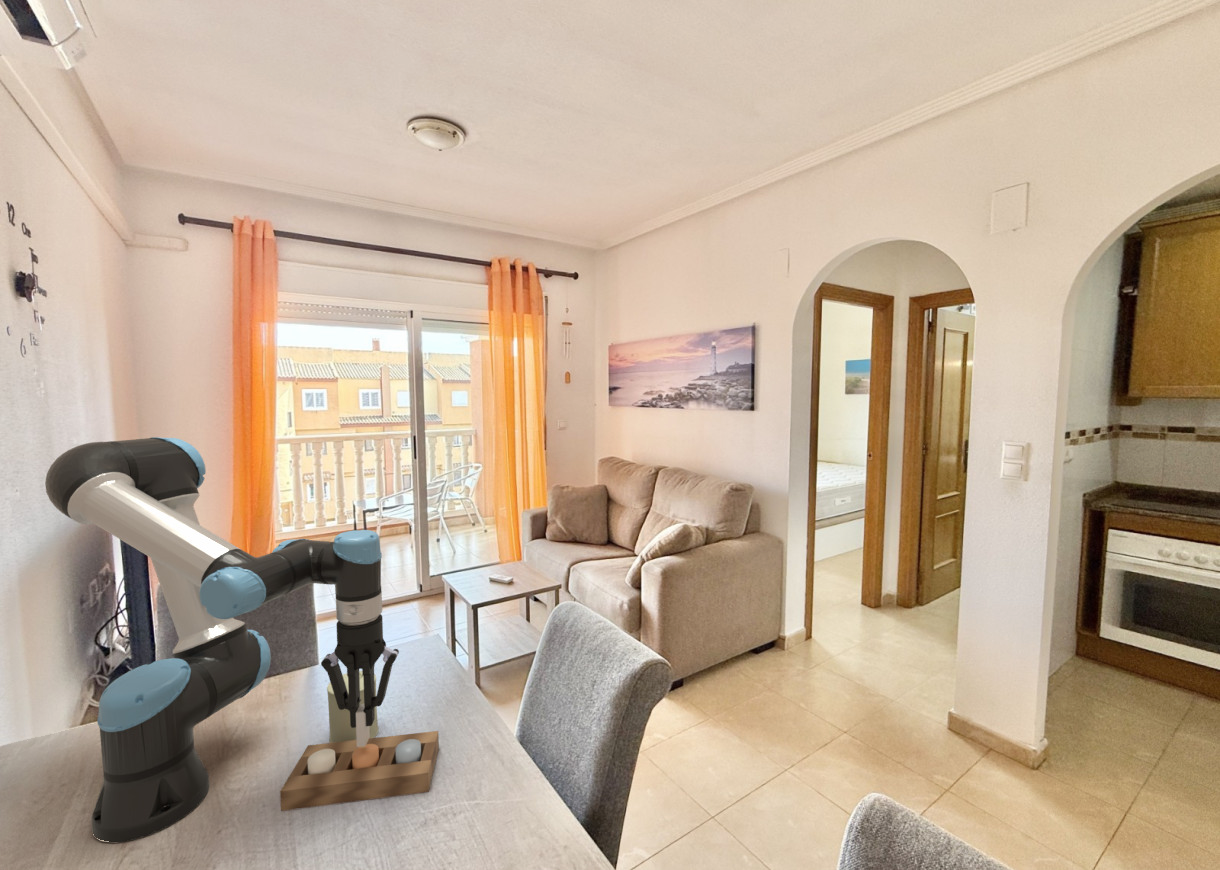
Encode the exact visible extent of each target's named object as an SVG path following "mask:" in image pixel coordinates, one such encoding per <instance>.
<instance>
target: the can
mask: <svg viewBox="0 0 1220 870" xmlns="http://www.w3.org/2000/svg"><path fill="white" fill-rule="evenodd" d="M342 675H343V678H344V682H345V685H346V688H347V692H348V695H349V690H348V676H347V673H345V674H342ZM359 678H360V699H361V701H360V703H359V706H360V704H364V679H363V674H362V670H359ZM374 683H375V696H377V676H376V674H375V673H374ZM326 691H327V701H328V702H327V703H328V722H329V727H328V728H329V739H328V743H334V742H343V741H352V740H357V738H356V727H355V728H352V727H351V725H350V711H349V710H347V709H343V710H340V709H339V708H338V705H337V702H336V698H335V695H334V692H333V689H332V686H331V682H330V681H329V683H328V685H327V687H326ZM377 707H378V706H376V707H374V709H375V719H374V722H373V724H372V726H369V732H370V737H369V739H370V738H376V736H377V735H378V733H379V725H378V708H377Z"/></svg>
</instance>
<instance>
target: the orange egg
mask: <svg viewBox="0 0 1220 870" xmlns="http://www.w3.org/2000/svg"><path fill="white" fill-rule="evenodd" d="M378 762H379V749H378V746H377V745H375V744H366V746H365V747H359V748H357V749H356V750H355V751H354V752H353V754H352V764H353V769H360V768H368V767H377V765H378Z"/></svg>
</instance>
